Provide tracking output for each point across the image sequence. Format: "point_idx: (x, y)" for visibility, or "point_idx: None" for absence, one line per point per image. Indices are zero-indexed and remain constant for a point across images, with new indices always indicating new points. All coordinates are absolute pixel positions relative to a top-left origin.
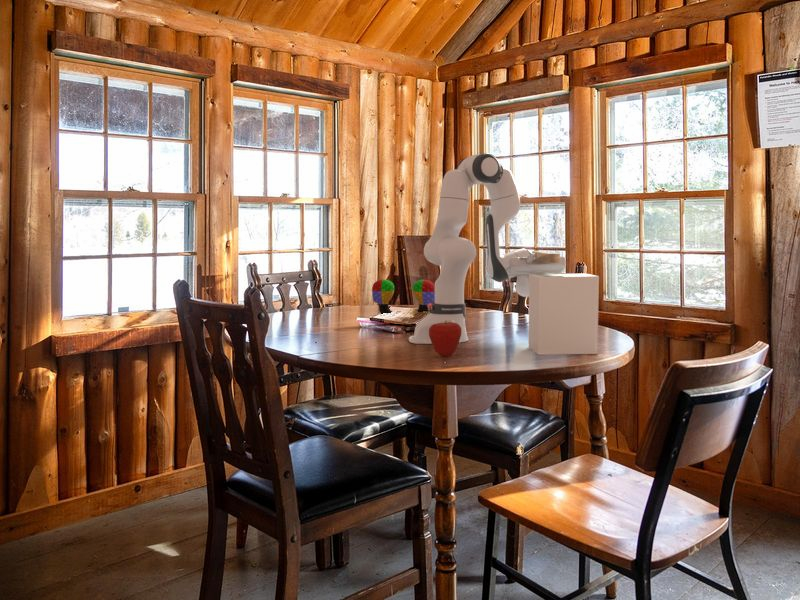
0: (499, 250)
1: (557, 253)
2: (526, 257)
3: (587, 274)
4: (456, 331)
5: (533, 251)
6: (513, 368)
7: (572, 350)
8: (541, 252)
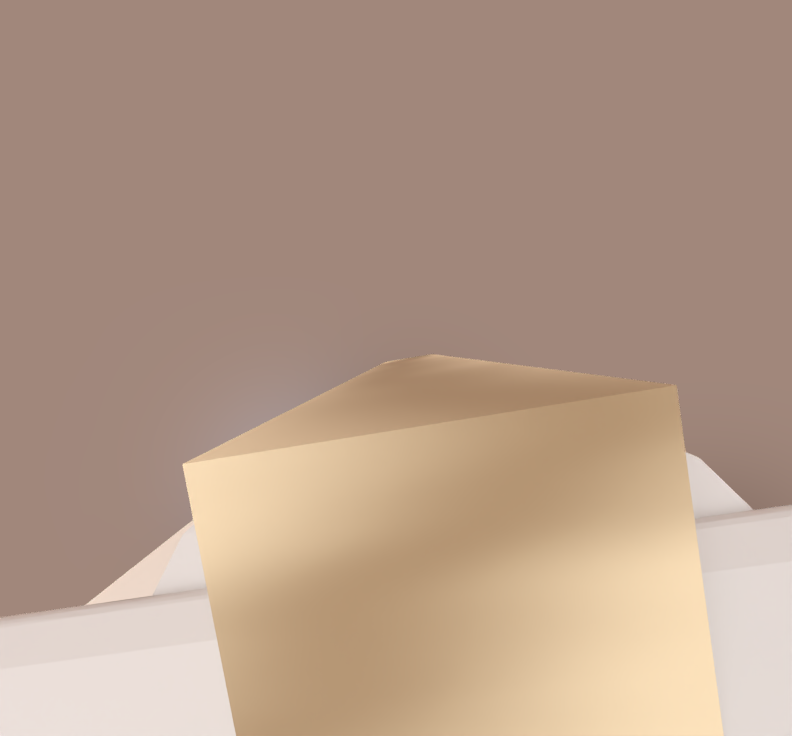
0: None
1: (390, 361)
2: (781, 508)
3: (167, 551)
4: None
5: (548, 370)
6: None
7: None
8: (443, 357)
